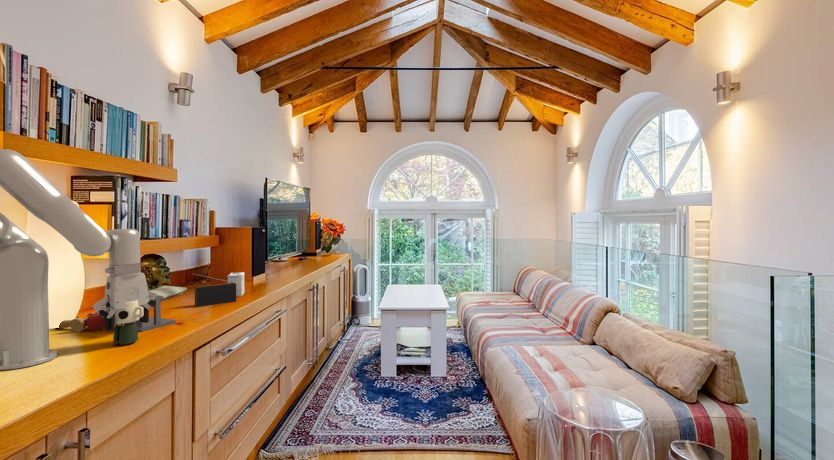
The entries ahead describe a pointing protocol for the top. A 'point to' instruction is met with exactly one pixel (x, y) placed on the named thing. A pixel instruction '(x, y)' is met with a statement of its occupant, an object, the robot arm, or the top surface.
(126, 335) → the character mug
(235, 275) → the light bulb box
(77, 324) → the kendama
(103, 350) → the top surface
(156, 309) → the stand
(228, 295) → the radio
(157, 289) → the beam
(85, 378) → the top surface
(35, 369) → the top surface
